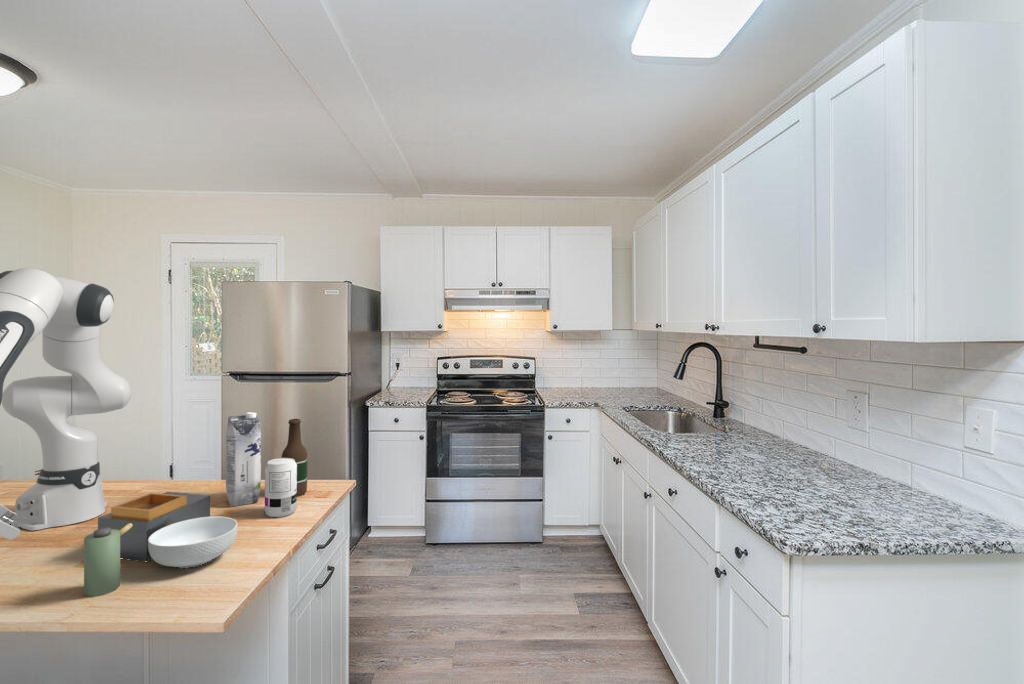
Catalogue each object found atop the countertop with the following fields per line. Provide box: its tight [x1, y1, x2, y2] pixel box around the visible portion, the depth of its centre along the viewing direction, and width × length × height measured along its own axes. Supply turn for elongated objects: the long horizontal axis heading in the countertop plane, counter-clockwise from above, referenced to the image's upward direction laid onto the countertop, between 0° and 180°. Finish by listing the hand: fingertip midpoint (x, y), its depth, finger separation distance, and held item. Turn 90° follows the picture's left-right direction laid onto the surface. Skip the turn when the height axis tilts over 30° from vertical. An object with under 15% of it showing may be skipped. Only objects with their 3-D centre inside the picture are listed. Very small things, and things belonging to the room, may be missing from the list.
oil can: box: [83, 523, 133, 598], centre depth 96 cm, size 8×6×12 cm
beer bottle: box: [280, 418, 308, 497], centre depth 152 cm, size 8×8×24 cm
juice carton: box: [225, 411, 262, 508], centre depth 145 cm, size 9×10×27 cm
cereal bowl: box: [148, 516, 239, 569], centre depth 108 cm, size 17×17×7 cm
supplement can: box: [264, 457, 298, 518], centre depth 136 cm, size 8×8×15 cm
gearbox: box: [97, 491, 211, 562], centre depth 117 cm, size 16×18×11 cm
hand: (15, 527), depth 86 cm, fingers open, 8 cm apart
